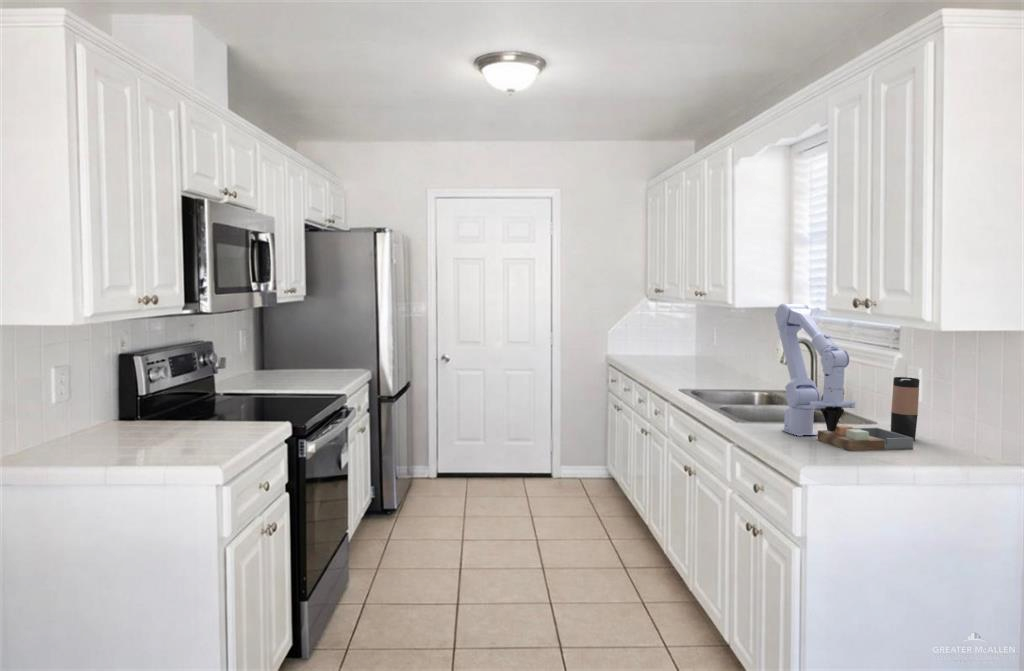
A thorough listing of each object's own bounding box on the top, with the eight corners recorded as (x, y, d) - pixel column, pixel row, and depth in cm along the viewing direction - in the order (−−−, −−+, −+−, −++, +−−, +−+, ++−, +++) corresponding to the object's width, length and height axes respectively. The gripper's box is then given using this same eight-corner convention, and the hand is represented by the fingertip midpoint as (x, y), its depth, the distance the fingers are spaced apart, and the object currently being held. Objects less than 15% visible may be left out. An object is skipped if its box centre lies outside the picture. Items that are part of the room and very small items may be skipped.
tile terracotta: (830, 432, 235) (831, 424, 235) (843, 431, 236) (843, 424, 236) (839, 435, 230) (840, 427, 230) (852, 434, 231) (852, 427, 231)
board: (817, 439, 237) (817, 430, 237) (850, 438, 240) (850, 429, 239) (849, 451, 222) (850, 441, 221) (884, 450, 224) (885, 440, 224)
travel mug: (912, 437, 244) (916, 377, 242) (918, 442, 237) (922, 380, 235) (887, 435, 246) (890, 376, 245) (892, 440, 239) (896, 379, 237)
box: (850, 438, 240) (850, 428, 239) (877, 438, 242) (877, 427, 241) (884, 450, 224) (885, 438, 224) (912, 449, 226) (913, 438, 226)
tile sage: (845, 437, 228) (846, 429, 227) (858, 436, 228) (859, 429, 228) (855, 440, 223) (855, 432, 223) (868, 439, 224) (868, 432, 224)
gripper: (820, 390, 226) (818, 433, 227) (862, 389, 229) (859, 432, 230) (806, 386, 233) (804, 429, 234) (847, 386, 236) (845, 428, 237)
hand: (831, 430), depth 232 cm, fingers closed
